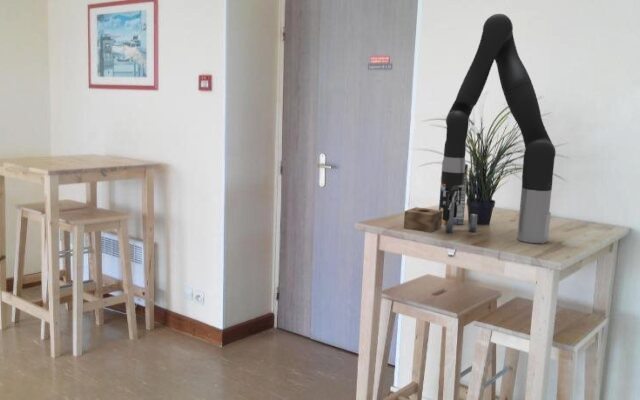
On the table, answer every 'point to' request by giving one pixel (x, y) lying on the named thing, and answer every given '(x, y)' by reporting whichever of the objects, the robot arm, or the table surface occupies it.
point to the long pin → (450, 220)
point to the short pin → (473, 223)
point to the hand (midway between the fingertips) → (449, 218)
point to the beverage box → (461, 207)
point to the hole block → (423, 219)
